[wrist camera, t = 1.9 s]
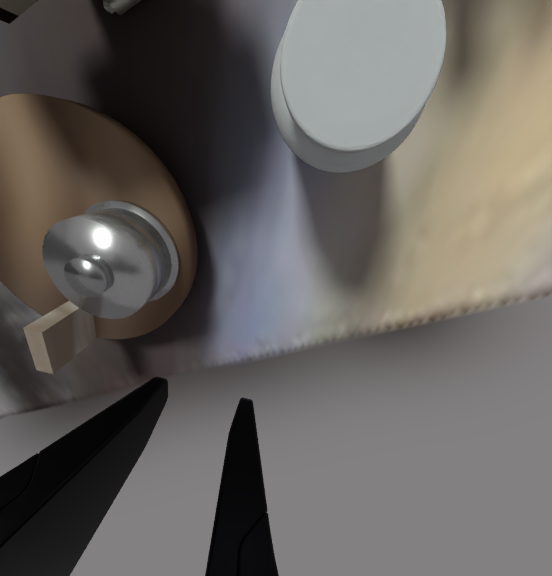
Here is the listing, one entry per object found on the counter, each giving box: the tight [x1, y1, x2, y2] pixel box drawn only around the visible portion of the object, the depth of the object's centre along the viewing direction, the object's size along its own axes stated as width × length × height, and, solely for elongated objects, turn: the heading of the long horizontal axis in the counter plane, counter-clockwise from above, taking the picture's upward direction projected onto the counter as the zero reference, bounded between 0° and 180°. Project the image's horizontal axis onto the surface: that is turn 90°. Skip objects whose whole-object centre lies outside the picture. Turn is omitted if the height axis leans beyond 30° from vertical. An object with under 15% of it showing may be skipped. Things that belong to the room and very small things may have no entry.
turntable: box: [0, 93, 198, 374], centre depth 17 cm, size 16×16×5 cm
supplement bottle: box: [271, 0, 446, 173], centre depth 11 cm, size 5×5×10 cm
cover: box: [42, 200, 180, 319], centre depth 16 cm, size 7×7×4 cm
